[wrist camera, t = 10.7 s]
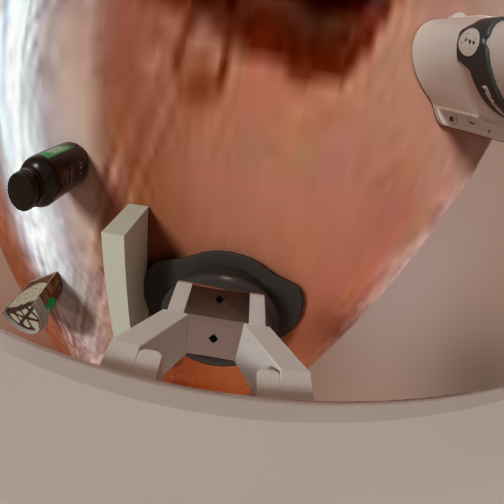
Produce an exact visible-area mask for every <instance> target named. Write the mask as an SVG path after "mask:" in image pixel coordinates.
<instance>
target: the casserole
mask: <svg viewBox="0 0 504 504" xmlns="http://www.w3.org/2000/svg"><path fill="white" fill-rule="evenodd" d="M179 280H180V281H185V282H191V283H196V284H201V285H206V286H211V287H216V288H221V289H226V290H232V291H239V292H245V293H256V294H263V295H264V296H265V316H266V327H270V328H271V329H272V330H273V331H274V332H275V333H276V335H277V336H278V337H279V338H280V337H283V336H284V335H286V334H287V333H288V332H290V331H291V330H292V329H293V327H294V326H295V325H296V324H297V322H298V320H299V318H300V316H301V313H302V309H303V296H302V292H301V290H300V289H299V288H298V286H297V285H296V284H294V283H292V282H290V281H288V280H286V279H284V278H282V277H280V276H278V275H275V274H274V273H273V272H271V271H270V270H268V269H267V268H266V267H264V266H263V265H261V264H260V263H259V262H257V261H256V260H254V259H251V258H249V257H247V256H245V255H242V254H238V253H234V252H229V251H218V250H217V251H206V252H201V253H198V254H194V255H191V256H187V257H184V258H179V259H168V260H161V261H157V262H156V263H154V264H152V265H151V266H150V268H149V269H148V271H147V273H146V276H145V279H144V298H145V301H146V303H147V306H148V308H149V309H150V311H151V313H152V314H153V315H154V314H156V313H157V312H159V311H161V310H162V309H166V310H167V309H168V306H169V304H170V301H171V298H172V295H173V293H174V290H175V287H176V285H177V282H178V281H179ZM185 356H187V357H189V358H191V359H193V360H195V361H198V362H201V363H204V364H208V365H213V366H235V365H236V363H235V361H233V360H227V359H221V358H216V357H211V356H204V355H197V354H191V353H186V355H185Z"/></svg>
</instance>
